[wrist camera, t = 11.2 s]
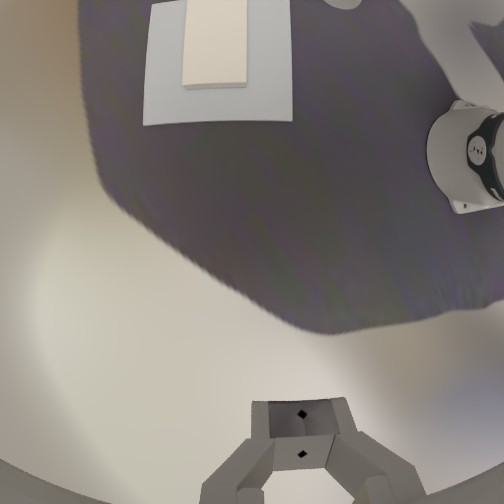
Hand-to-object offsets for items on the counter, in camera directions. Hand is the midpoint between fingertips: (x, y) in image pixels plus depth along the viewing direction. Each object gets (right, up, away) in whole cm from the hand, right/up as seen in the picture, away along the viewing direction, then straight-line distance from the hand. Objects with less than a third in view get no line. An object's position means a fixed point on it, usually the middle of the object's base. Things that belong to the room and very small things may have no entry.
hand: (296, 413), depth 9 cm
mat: (-6, +32, +27) cm, 42 cm away
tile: (-6, +26, +26) cm, 37 cm away
